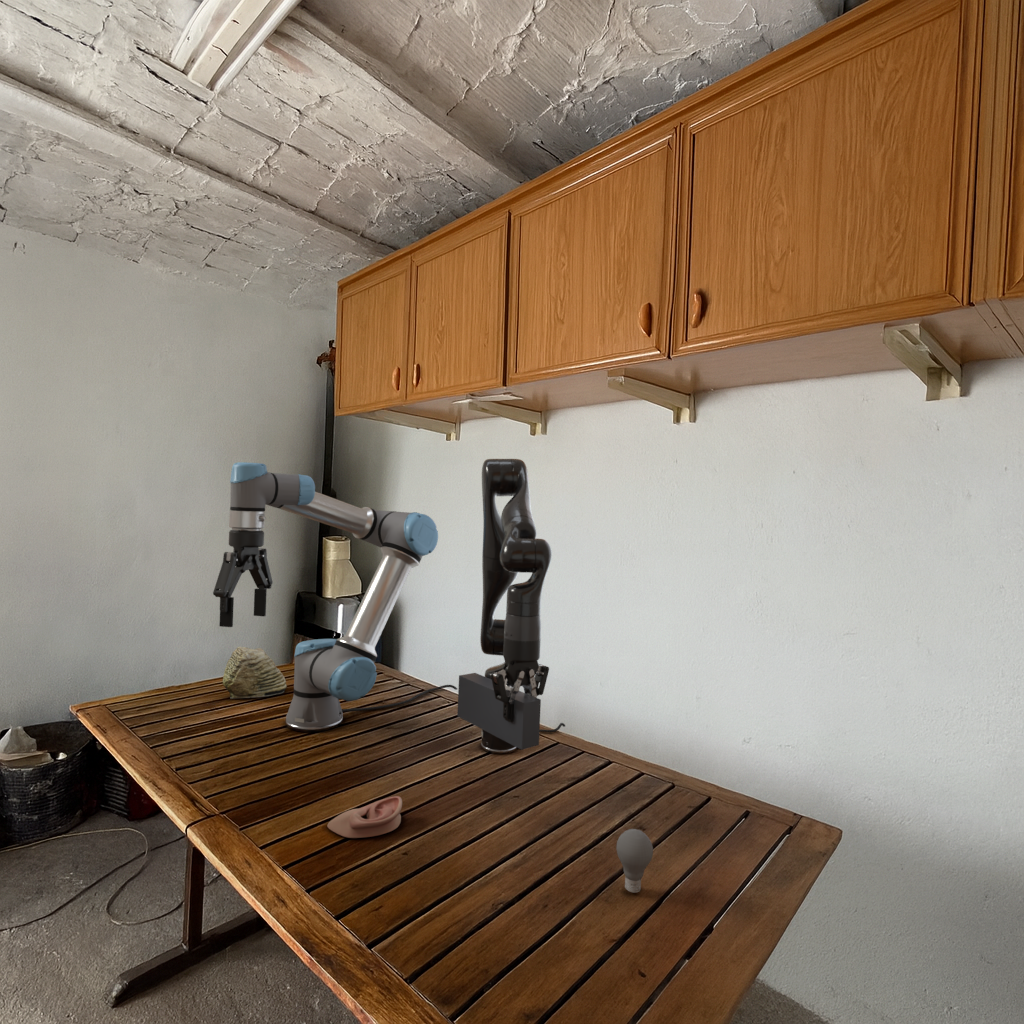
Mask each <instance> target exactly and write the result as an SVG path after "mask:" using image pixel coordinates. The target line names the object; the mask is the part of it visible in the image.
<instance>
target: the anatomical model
mask: <svg viewBox="0 0 1024 1024" xmlns="http://www.w3.org/2000/svg"><path fill="white" fill-rule="evenodd" d="M402 808H403V799H402V797H401V796H399V795H395V796H389V797H385V798H383V799H379V800H376V801H374V802H372V803H369V804H367V805H365V806H362V807H359V808H353V809H349V810H346V811H344V812H341V813H340V814H338V815H337V816H335V817H334V818H332V819H331V820H330V821H329V822H328V823H327V828H328V829H329V830H330V831H331V832H333V833H335V834H337V835H339V836H340V837H341V836H342V837H344V838H347V839H360V838H370V837H371V838H372V837H377V836H382V835H384V834H387V833H390V832H392V831H394V830H396V829H397V828H398V827H399V826H400V824H401V822H402V815H401V811H402Z"/></svg>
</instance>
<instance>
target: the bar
mask: <svg viewBox="0 0 1024 1024" xmlns="http://www.w3.org/2000/svg"><path fill="white" fill-rule="evenodd" d="M457 690H458V691H457V693H458V694H457V714H456V715H457V717H458V718H460V719H461V720H464V721H465V722H468V724H471V725H473V726H475V727H477V728H479V729H483V730H485V731H487V732H488V733H490V734H492V735H494V736H496V737H498V738H500V739H502V740H504V741H506V742H508V743H510V744H511V745H513V746H515V747H517V748H519V749H518V750H521V751H522V750H523V751H524V750H526V749H531V748H533V747H537V746H540V732H539V730H540V728H541V726H540V725H541V705H542V700H541V699H540V698H539V697H537V698H536V697H533V696H531V695H528V694H526V693H525V692H523V691H521V690H519V692H518V693H517V694H516V696H515V700H514V703H513V704H514V719H513V722H508V721H506V720H505V719H504V717H503V702H502V701H500V700H497V699H496V698H495V694H494V688H493V683H492V679H489V678H487V677H485V675H482V674H479V673H477V672H472V673H466V674H465V673H464V674H460V675H458V688H457ZM509 696H510V694H509Z"/></svg>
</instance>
